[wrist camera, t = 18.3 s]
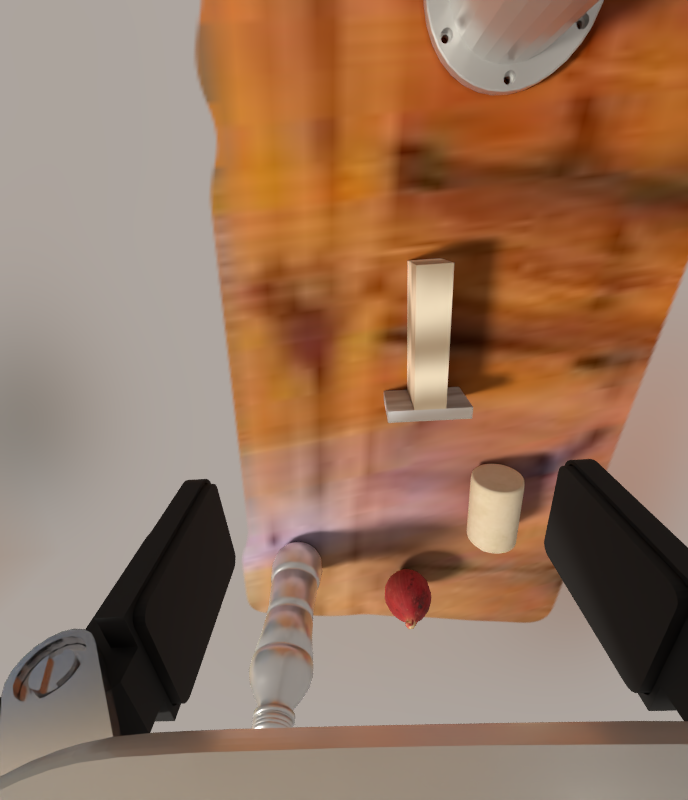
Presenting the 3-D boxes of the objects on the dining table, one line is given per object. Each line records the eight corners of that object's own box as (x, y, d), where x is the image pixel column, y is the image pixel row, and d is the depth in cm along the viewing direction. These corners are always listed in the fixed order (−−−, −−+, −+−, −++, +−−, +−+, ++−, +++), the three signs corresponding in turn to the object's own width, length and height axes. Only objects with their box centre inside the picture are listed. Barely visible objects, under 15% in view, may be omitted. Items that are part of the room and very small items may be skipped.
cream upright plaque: (380, 262, 34) (385, 267, 30) (467, 256, 34) (486, 260, 29) (383, 400, 40) (388, 422, 36) (458, 396, 40) (472, 418, 35)
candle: (537, 485, 39) (525, 554, 43) (502, 458, 44) (494, 522, 48) (492, 498, 38) (484, 568, 42) (461, 469, 42) (457, 534, 47)
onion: (406, 548, 49) (415, 604, 42) (433, 570, 51) (447, 627, 43) (374, 570, 51) (378, 627, 44) (401, 590, 52) (410, 648, 45)
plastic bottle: (323, 535, 48) (307, 719, 30) (323, 572, 51) (308, 760, 33) (274, 533, 48) (229, 716, 30) (276, 570, 51) (236, 757, 33)
